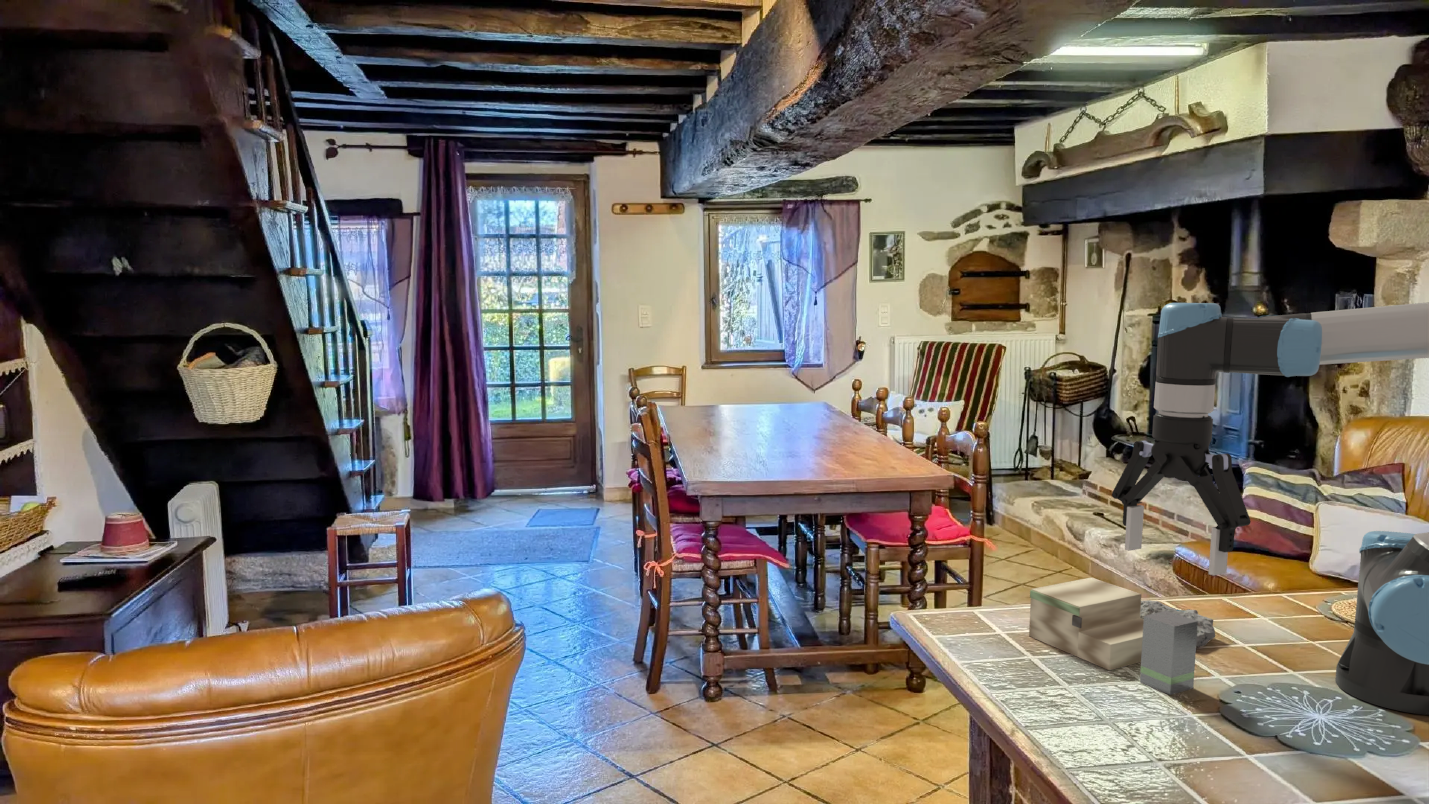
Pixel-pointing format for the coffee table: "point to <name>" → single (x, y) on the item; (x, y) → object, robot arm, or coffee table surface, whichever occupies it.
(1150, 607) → the rock
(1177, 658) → the column
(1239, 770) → the coffee table surface
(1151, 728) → the coffee table surface
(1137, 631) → the stand
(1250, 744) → the coffee table surface
